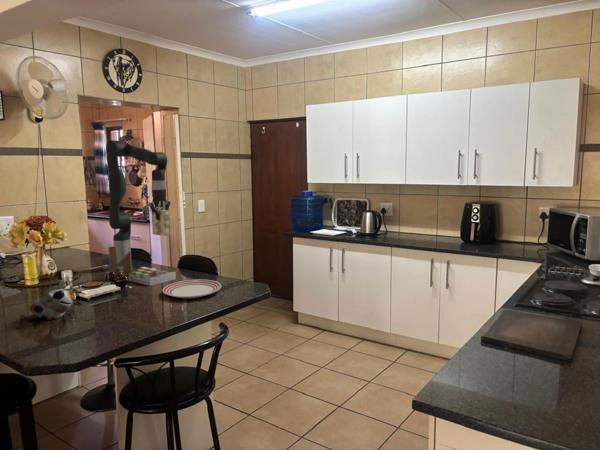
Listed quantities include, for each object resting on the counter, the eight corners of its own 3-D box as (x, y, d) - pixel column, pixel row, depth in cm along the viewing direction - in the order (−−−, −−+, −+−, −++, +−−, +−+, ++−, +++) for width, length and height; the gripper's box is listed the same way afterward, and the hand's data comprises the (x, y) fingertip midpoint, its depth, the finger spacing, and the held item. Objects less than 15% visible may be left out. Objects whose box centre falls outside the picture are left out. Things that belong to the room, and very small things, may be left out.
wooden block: (131, 278, 242) (130, 245, 239) (110, 281, 236) (108, 247, 234) (130, 276, 245) (128, 244, 242) (109, 279, 239) (107, 246, 237)
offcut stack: (132, 280, 236) (132, 269, 235) (143, 278, 242) (143, 266, 241) (149, 284, 228) (148, 272, 227) (160, 281, 234) (159, 270, 233)
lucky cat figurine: (56, 308, 191) (71, 280, 190) (71, 323, 186) (86, 294, 185) (22, 308, 178) (38, 278, 177) (37, 324, 172) (53, 293, 171)
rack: (128, 280, 237) (128, 273, 236) (154, 274, 250) (154, 267, 250) (150, 285, 226) (149, 278, 226) (175, 279, 240) (175, 271, 239)
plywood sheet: (152, 234, 250) (151, 209, 248) (156, 233, 252) (155, 209, 251) (166, 236, 244) (165, 210, 242) (169, 235, 246) (168, 210, 244)
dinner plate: (207, 303, 197) (207, 296, 197) (151, 300, 203) (151, 293, 202) (229, 287, 224) (229, 280, 224) (179, 284, 229) (179, 278, 229)
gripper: (165, 188, 252) (166, 218, 255) (143, 189, 241) (145, 220, 243) (173, 188, 248) (174, 219, 250) (152, 189, 237) (154, 221, 239)
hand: (160, 219), depth 247 cm, fingers closed on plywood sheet, 2 cm apart
